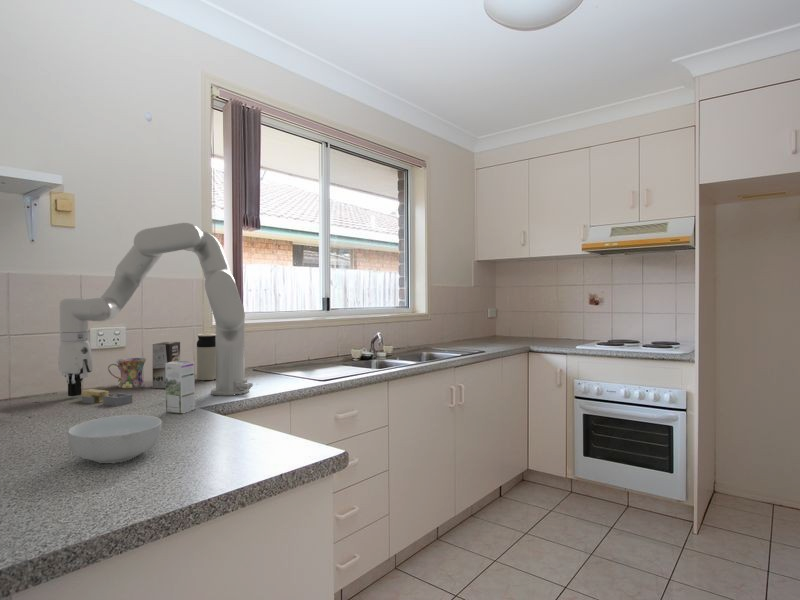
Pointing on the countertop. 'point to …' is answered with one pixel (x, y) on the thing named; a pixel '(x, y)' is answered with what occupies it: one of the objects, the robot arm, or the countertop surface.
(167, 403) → the syrup box
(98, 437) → the cereal bowl
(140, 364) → the mug
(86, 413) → the countertop surface
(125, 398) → the grey tray
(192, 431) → the countertop surface
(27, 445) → the countertop surface
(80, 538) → the countertop surface
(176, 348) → the coffee box
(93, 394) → the latch bolt
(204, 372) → the travel mug
